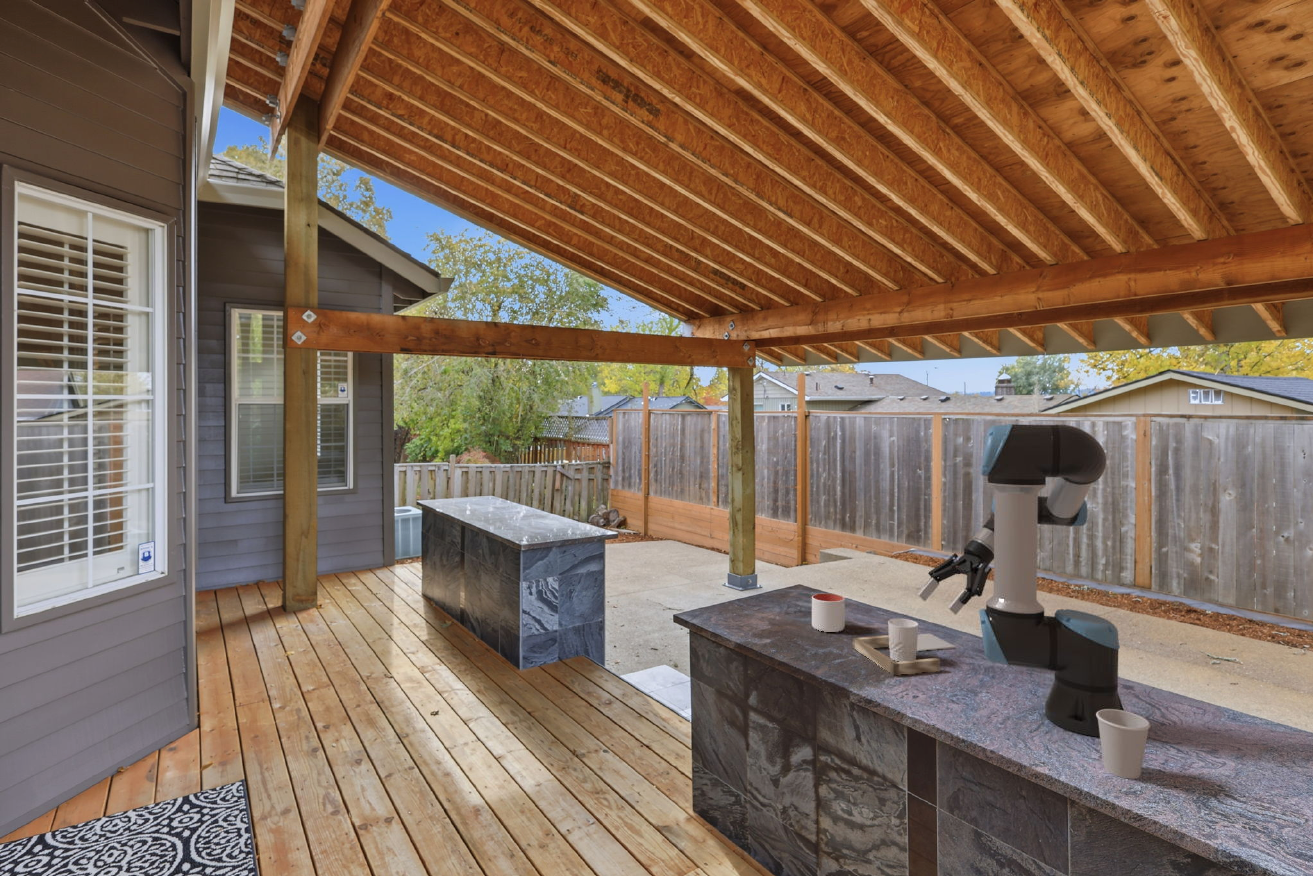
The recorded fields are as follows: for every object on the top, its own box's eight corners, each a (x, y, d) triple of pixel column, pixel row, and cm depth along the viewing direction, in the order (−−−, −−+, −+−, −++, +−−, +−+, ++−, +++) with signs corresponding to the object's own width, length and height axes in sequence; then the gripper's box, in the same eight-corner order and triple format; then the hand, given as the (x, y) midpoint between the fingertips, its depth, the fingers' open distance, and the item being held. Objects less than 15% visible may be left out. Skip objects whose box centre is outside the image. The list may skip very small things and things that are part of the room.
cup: (805, 626, 215) (805, 595, 214) (830, 622, 219) (830, 591, 219) (825, 635, 206) (825, 603, 205) (851, 631, 210) (851, 599, 210)
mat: (955, 648, 194) (955, 646, 194) (918, 651, 191) (918, 649, 191) (929, 635, 206) (929, 633, 206) (894, 638, 203) (894, 636, 203)
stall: (894, 644, 197) (894, 634, 197) (939, 671, 177) (939, 659, 177) (852, 648, 194) (852, 638, 194) (893, 675, 174) (893, 664, 174)
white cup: (913, 654, 190) (913, 618, 189) (921, 664, 182) (922, 627, 181) (884, 653, 190) (885, 618, 190) (891, 663, 182) (891, 626, 182)
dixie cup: (1127, 759, 131) (1128, 708, 131) (1160, 782, 123) (1161, 728, 123) (1085, 759, 131) (1086, 709, 131) (1115, 783, 123) (1116, 728, 122)
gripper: (1024, 566, 179) (974, 626, 177) (962, 548, 204) (917, 601, 201) (1007, 547, 178) (957, 607, 175) (946, 531, 202) (901, 584, 200)
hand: (936, 604), depth 188 cm, fingers open, 13 cm apart
